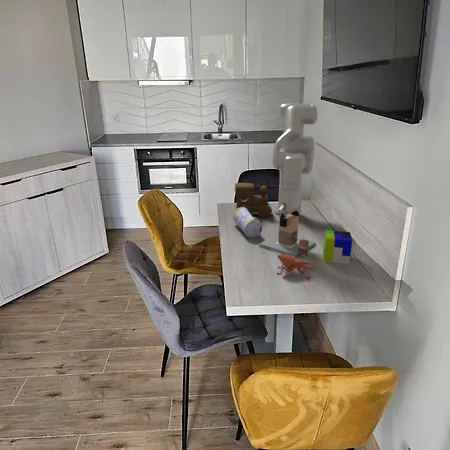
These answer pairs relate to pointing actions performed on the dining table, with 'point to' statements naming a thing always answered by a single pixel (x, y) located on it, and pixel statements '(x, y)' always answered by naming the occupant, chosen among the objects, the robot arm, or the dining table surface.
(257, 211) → the wooden toy train
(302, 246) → the tower
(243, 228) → the pencil case
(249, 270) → the dining table surface
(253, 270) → the dining table surface
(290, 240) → the walnut block
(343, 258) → the puzzle toy
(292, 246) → the board
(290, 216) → the terracotta block
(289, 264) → the beetle
